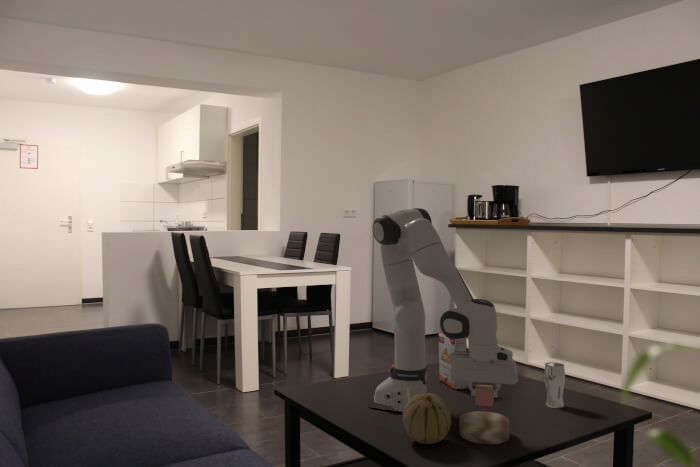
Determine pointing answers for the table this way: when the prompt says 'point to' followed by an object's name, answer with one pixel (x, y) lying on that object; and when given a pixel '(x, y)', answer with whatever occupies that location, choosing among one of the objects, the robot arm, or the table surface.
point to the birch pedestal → (484, 427)
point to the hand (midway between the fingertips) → (484, 396)
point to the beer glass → (554, 384)
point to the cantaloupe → (427, 418)
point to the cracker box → (444, 359)
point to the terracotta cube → (484, 395)
